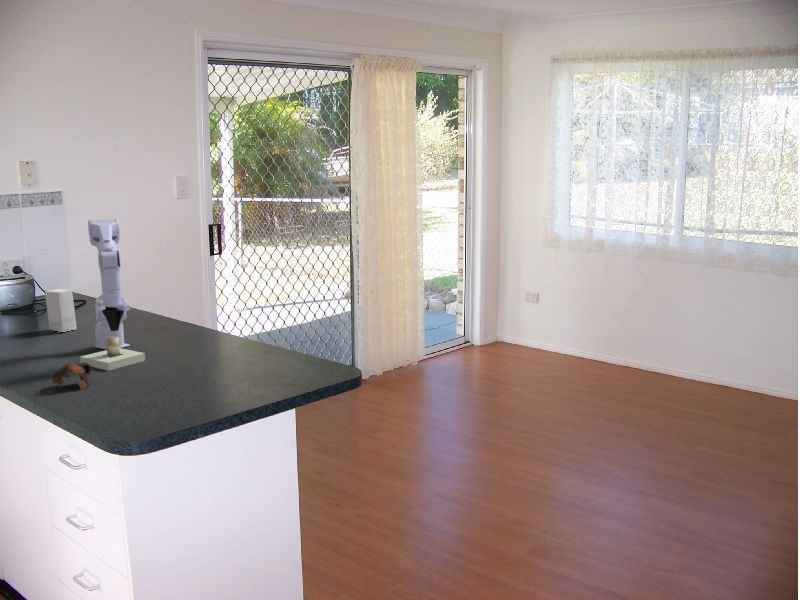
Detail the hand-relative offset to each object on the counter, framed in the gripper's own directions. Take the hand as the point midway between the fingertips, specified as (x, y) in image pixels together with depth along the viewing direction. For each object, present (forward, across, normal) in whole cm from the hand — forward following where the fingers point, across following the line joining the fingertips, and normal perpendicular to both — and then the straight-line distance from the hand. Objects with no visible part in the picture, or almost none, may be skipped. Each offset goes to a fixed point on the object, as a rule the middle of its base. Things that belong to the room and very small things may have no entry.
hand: (114, 330), depth 267 cm
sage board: (+10, 0, -2) cm, 10 cm away
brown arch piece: (+10, +13, -24) cm, 29 cm away
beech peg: (+10, 0, -2) cm, 10 cm away
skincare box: (+11, -55, +17) cm, 58 cm away
